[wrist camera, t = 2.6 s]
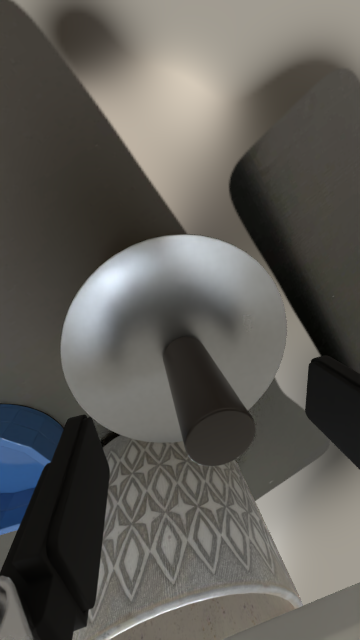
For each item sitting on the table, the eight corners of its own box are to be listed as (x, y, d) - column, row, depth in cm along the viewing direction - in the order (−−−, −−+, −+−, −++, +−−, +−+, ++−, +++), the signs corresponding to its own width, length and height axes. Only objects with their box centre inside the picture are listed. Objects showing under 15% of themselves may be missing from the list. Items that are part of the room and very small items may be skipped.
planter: (133, 535, 32) (133, 747, 18) (49, 462, 25) (-49, 721, 11) (245, 473, 32) (325, 637, 19) (195, 384, 25) (264, 545, 12)
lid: (27, 255, 11) (-140, 276, 4) (279, 218, 13) (438, 193, 6) (101, 451, 16) (77, 603, 9) (274, 404, 17) (359, 502, 11)
